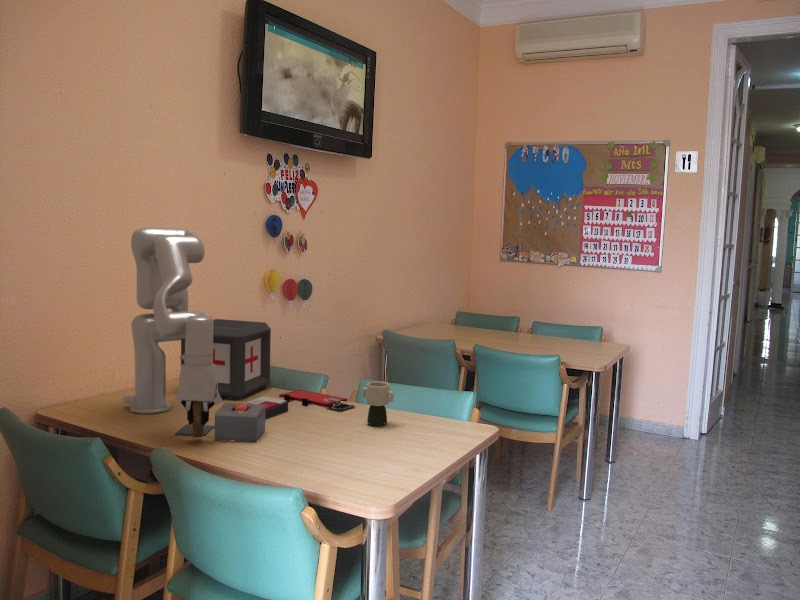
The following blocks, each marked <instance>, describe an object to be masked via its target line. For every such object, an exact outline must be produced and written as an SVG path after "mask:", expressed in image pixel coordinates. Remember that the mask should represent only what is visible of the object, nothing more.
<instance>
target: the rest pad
mask: <svg viewBox="0 0 800 600" xmlns="http://www.w3.org/2000/svg"><path fill="white" fill-rule="evenodd" d="M192 427H193V424H191V425H189V424H184V425H183V426H181V428H179V429H178V430H177V431H176V432H175V433H174V436H179V435H181V436H182V437H183V436H185V437H187V436H188V437H193V436H192ZM213 428H214V429H215V425H207V424H205V425H204V431H203V437H204V436H206V435H207V434H208V433H209V432H210V431H211V430H212V429H213ZM214 429H213V430H214ZM213 430H212V431H213ZM212 431H211V432H212ZM211 432H210V433H211ZM210 433H209V434H210ZM209 434H208V435H209ZM208 435H207V436H208ZM207 436H206V437H207Z"/></svg>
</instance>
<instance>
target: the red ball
mask: <svg viewBox="0 0 800 600" xmlns="http://www.w3.org/2000/svg"><path fill="white" fill-rule="evenodd" d="M235 411H247V405H246V404H243V403H237V404H236V405H235Z"/></svg>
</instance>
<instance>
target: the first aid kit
mask: <svg viewBox="0 0 800 600" xmlns="http://www.w3.org/2000/svg"><path fill="white" fill-rule="evenodd" d="M271 331H272V330H271V327H270V326H269V325H268V323H267V322H263V321H262V322H261V321H250V320H249V321H248V320H236V319H235V320H234V319H226V318H225V319H223V318H221V319H220V318H215V319H213V364H215V367H216V373H217V382H218V393H219V395H220V397H221V399H225V398H231V399H230V400H235V399H239V400H241V399H243V398H245V397H247V396H249V395H251V393H252V394H254V393H256V392H258V391H260V390H262V389H264V388H266V387H267V386H268V385H269V384H270V383H271V337H272V335H271V334H272V333H271ZM183 354H185V338H184V339H182V340H180V355H183ZM182 364H184V360H182V359H180V367H181V366H182ZM257 390H258V391H257ZM255 391H256V392H255ZM253 392H254V393H253ZM246 395H247V396H246ZM244 396H245V397H244ZM242 397H243V398H242ZM240 398H241V399H240Z"/></svg>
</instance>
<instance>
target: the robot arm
mask: <svg viewBox="0 0 800 600" xmlns="http://www.w3.org/2000/svg"><path fill="white" fill-rule="evenodd" d="M130 246H131V248H130V249H131V252H132V255H133V258H134V262H135V265H136V266H135V267H136V302H137V305H138V307H139V308H141V309H144V310H153V312H151V313H140V314H139V315H136V316H134V317H133V319H132V321H131V324H130V325H131V334H132V341H133V347H134V348H133V349H134V395H123V398H122V401H123V403H125V404H127V403H128V404H129V403H130V404H131V405H130V406H129V411H130V412H132V413H135V414H141V415H142V414H146V415H147V414H157V413H158V414H159V413H164V412H166V411H169V410H170V409H171V407H172V405H171V403H170V402H168V401H166V400H167V398H166V397H167V393H166V392H167V389H166V387H167V382H166V381H167V377H166V374H167V373H166V372H167V364H166V363H167V362H166V361H167V359H166V353H165V351H164V350H163V349H162V347H160V345H159V343H162V342H163V343H165V342H176V341H181V340H182V339H184V338H185V354H183V355H181V354H180V356H179V360H181V359H182V360H184V364H182V366H181V365H180V371H179V377H178V378H179V379H178V387H177V388H178V389H177V393H176V395H175V397H174V400H175V401H176V402H178V403H180V405H182V406H183V408H185V410H186V414H187V417H186V420H187V421H188V425H193V401H201V402H203V408H204V409H203V411H202V423H201V424H202V425H207V423H209V420H210V410H211V408H212V407H213V406H215V405H216V406H217V405H218V404H220V403H221V402H223V398H221V397H220V395H219V393H218V382H217V373H216V367H215V364H213V320H214V319H213V317H211V316H209V315H207V314H206V313H205V312H204V311H201V310H200V311H199V310H196V311H195V310H193V311H189V291H188V288H189V287H190V286H191V285H192V283H193V279H194V278H193V275H192V271H191V269H190V265H189V264H198V263H201V262H202V261H203V260H204V258H205V253H206V251H205V245H204V242H203V241H202V240H201V238H200V237H199V236H198V235H197V234H195V233H193V232H191V231H190V230H188V229H186V228H179V227H178V228H177V227H175V228H172V227H169V228H168V227H142V228H137V229H136V230H134V231H133V233H132V234H131V238H130ZM168 309H170V310H171V311H168Z"/></svg>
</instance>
